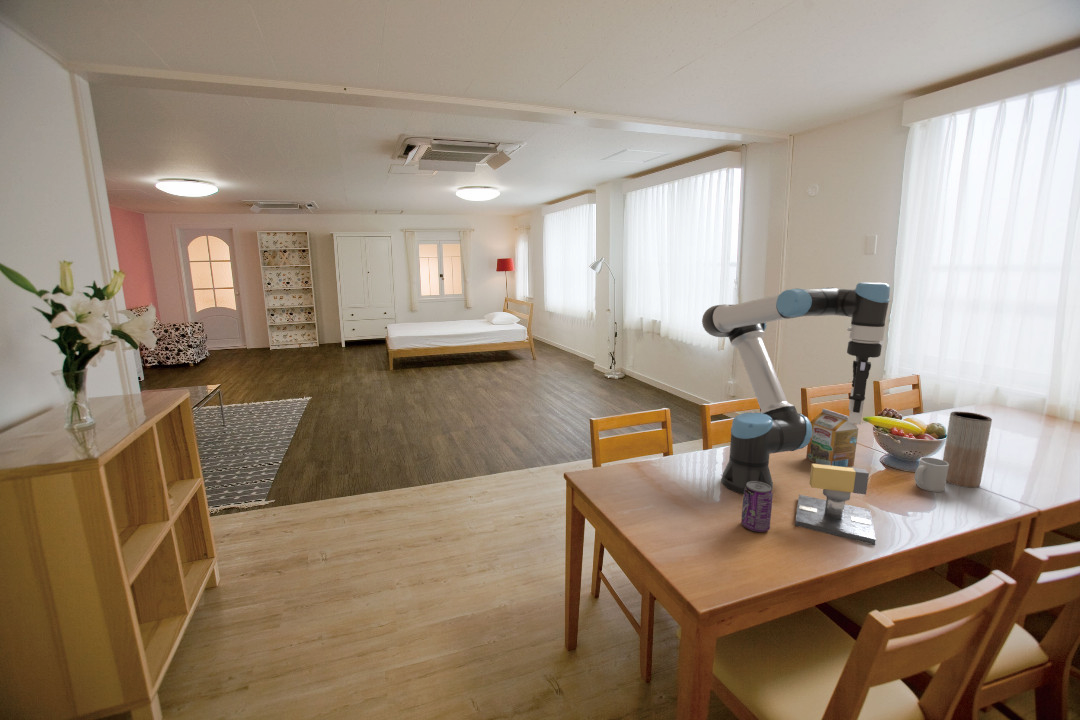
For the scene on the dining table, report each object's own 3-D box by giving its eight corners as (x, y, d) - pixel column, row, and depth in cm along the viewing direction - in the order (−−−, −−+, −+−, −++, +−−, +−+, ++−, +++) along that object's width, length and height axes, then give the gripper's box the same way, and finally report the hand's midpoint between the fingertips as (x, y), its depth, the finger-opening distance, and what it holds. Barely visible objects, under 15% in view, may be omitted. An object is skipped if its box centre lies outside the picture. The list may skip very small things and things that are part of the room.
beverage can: (745, 517, 133) (748, 478, 131) (772, 526, 129) (776, 485, 127) (737, 528, 128) (740, 486, 126) (765, 537, 123) (769, 494, 121)
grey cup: (950, 491, 149) (955, 464, 148) (925, 494, 147) (929, 467, 145) (927, 481, 156) (931, 456, 154) (903, 484, 154) (906, 458, 152)
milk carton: (806, 458, 176) (811, 409, 172) (827, 455, 179) (833, 407, 175) (830, 469, 166) (837, 417, 162) (853, 466, 169) (860, 415, 165)
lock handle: (807, 487, 136) (810, 460, 134) (859, 493, 132) (863, 466, 130) (812, 497, 130) (815, 469, 128) (867, 504, 126) (871, 475, 124)
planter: (950, 486, 153) (962, 419, 149) (933, 473, 162) (943, 410, 158) (987, 489, 150) (1000, 421, 146) (967, 476, 160) (979, 412, 156)
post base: (795, 525, 129) (797, 501, 128) (798, 499, 144) (800, 477, 143) (874, 544, 120) (878, 519, 118) (869, 514, 135) (872, 491, 134)
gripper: (848, 334, 138) (839, 403, 143) (848, 346, 118) (837, 426, 122) (879, 336, 134) (869, 407, 139) (885, 349, 114) (872, 432, 118)
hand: (854, 416), depth 130 cm, fingers open, 13 cm apart
